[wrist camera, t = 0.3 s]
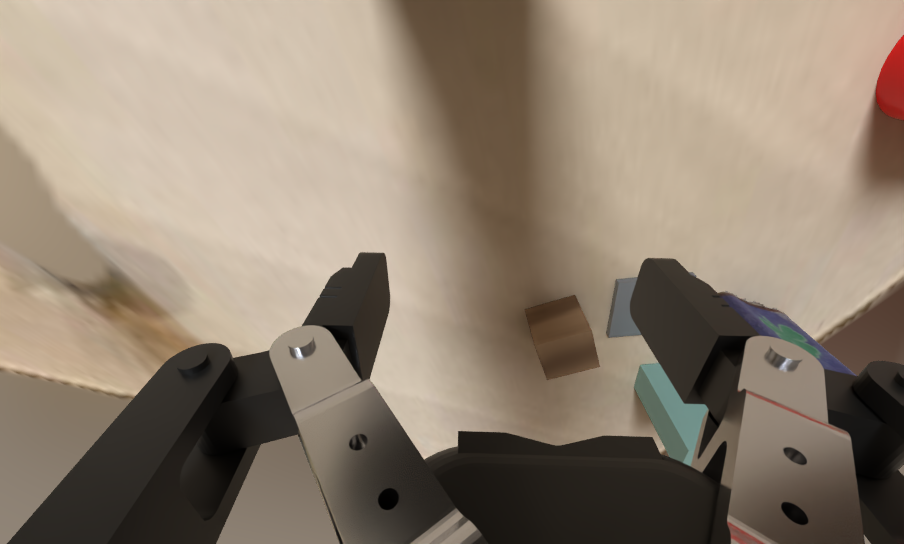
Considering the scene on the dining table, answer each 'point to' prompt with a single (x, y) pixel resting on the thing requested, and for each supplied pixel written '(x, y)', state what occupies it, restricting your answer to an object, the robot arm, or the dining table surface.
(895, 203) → the dining table surface
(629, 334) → the slate coaster
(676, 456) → the teal post
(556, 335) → the walnut block
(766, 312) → the flask
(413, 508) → the robot arm
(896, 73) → the mug
